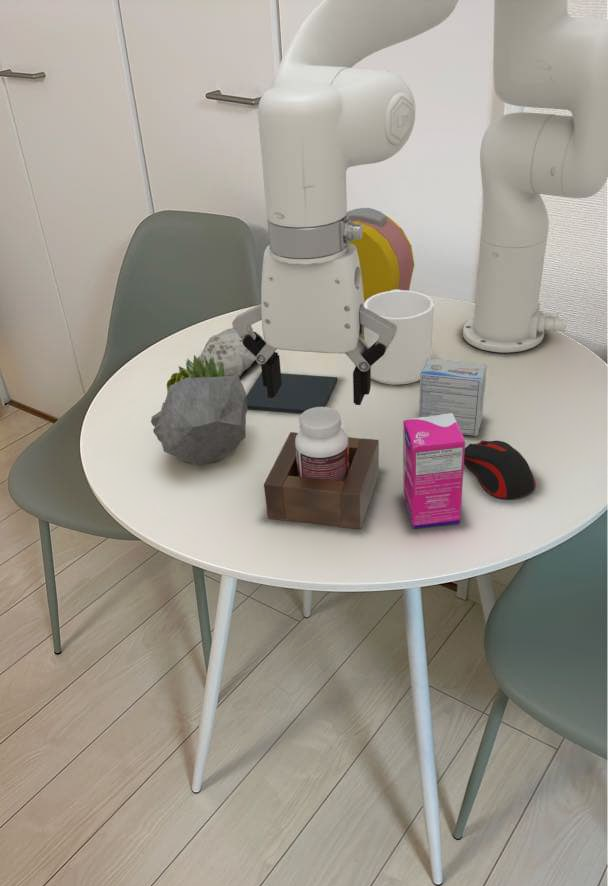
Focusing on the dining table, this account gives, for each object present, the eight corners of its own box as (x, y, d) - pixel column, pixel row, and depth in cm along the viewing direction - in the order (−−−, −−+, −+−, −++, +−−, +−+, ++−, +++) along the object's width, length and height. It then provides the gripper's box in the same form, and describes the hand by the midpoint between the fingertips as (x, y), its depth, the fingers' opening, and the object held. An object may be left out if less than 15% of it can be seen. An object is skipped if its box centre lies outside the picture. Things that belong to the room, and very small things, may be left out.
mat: (337, 380, 113) (337, 377, 113) (321, 415, 106) (321, 411, 106) (262, 375, 116) (261, 371, 116) (241, 408, 109) (240, 404, 109)
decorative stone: (202, 349, 124) (197, 321, 121) (267, 347, 123) (264, 318, 120) (189, 386, 115) (183, 357, 112) (259, 384, 114) (256, 354, 111)
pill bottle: (360, 497, 91) (358, 419, 84) (318, 517, 89) (313, 438, 81) (331, 474, 95) (327, 397, 88) (290, 492, 93) (282, 415, 86)
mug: (434, 383, 111) (437, 317, 104) (366, 386, 111) (364, 321, 105) (425, 345, 120) (428, 281, 113) (363, 348, 121) (361, 285, 114)
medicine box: (482, 420, 102) (488, 362, 96) (477, 438, 99) (482, 379, 93) (424, 414, 104) (427, 356, 99) (417, 430, 101) (419, 372, 96)
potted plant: (143, 464, 94) (124, 382, 102) (224, 489, 102) (201, 412, 110) (198, 399, 87) (173, 317, 95) (279, 431, 96) (250, 354, 104)
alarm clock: (414, 323, 126) (417, 209, 114) (392, 343, 121) (393, 226, 109) (336, 309, 133) (332, 199, 121) (313, 328, 128) (305, 215, 116)
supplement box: (401, 499, 90) (402, 417, 83) (449, 494, 90) (455, 411, 83) (410, 530, 86) (412, 445, 78) (461, 524, 86) (469, 439, 78)
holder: (378, 473, 95) (378, 439, 91) (360, 529, 86) (359, 494, 83) (293, 464, 97) (290, 431, 94) (267, 518, 89) (263, 484, 86)
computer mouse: (496, 445, 97) (499, 418, 95) (545, 491, 89) (549, 463, 87) (453, 457, 96) (455, 430, 93) (498, 504, 88) (501, 477, 86)
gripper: (404, 225, 72) (400, 384, 83) (235, 221, 76) (252, 373, 87) (391, 252, 67) (388, 419, 78) (209, 246, 71) (231, 406, 82)
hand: (316, 395), depth 83 cm, fingers open, 9 cm apart
